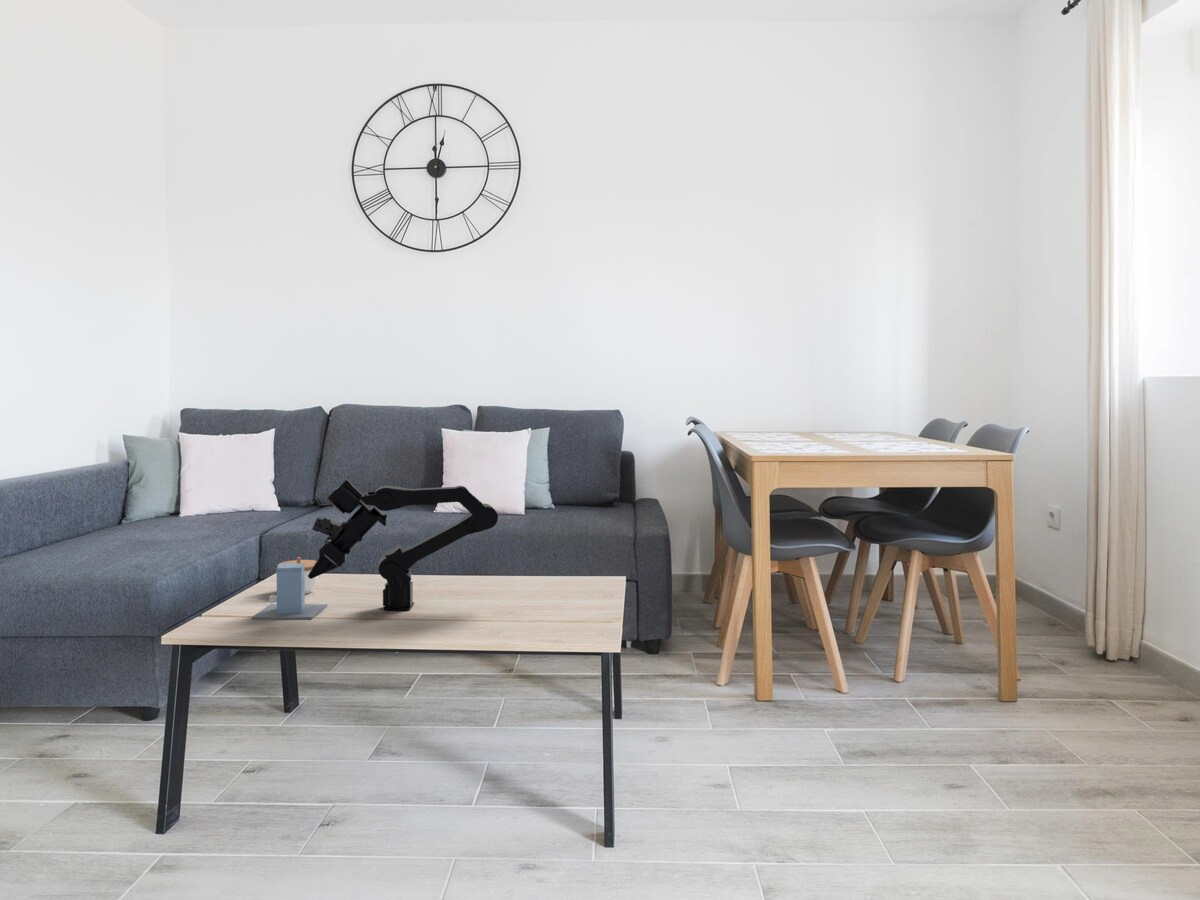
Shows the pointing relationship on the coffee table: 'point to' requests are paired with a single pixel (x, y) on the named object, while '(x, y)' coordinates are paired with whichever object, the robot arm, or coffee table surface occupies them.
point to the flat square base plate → (307, 613)
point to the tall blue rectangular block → (290, 588)
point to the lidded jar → (306, 573)
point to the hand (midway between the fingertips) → (311, 573)
